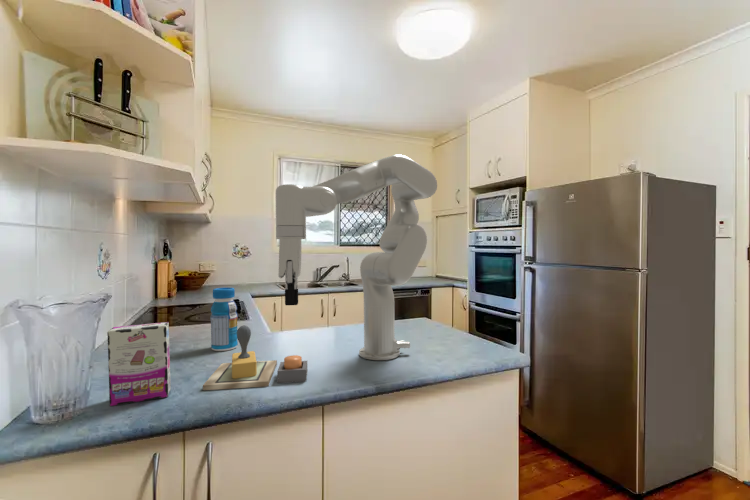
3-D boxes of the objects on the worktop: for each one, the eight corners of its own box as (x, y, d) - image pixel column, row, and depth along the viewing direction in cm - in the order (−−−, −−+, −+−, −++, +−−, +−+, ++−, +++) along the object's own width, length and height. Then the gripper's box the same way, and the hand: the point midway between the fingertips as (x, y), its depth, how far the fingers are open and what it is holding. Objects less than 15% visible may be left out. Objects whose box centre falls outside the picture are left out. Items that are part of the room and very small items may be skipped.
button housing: (307, 371, 96) (307, 360, 96) (306, 381, 89) (306, 369, 89) (280, 373, 95) (280, 362, 95) (277, 383, 88) (277, 371, 88)
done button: (302, 368, 95) (302, 354, 95) (301, 373, 90) (301, 360, 90) (285, 369, 94) (285, 355, 94) (283, 375, 90) (283, 361, 90)
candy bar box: (171, 389, 85) (169, 321, 85) (168, 397, 81) (167, 325, 80) (114, 398, 81) (113, 325, 80) (108, 407, 76) (106, 330, 76)
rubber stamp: (256, 375, 90) (256, 328, 90) (232, 379, 88) (231, 330, 88) (254, 363, 99) (254, 320, 99) (232, 366, 97) (231, 322, 97)
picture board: (276, 364, 102) (276, 359, 102) (268, 386, 86) (268, 380, 86) (221, 367, 100) (221, 362, 100) (202, 390, 84) (202, 384, 84)
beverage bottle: (212, 353, 114) (211, 290, 113) (209, 346, 121) (208, 288, 121) (240, 349, 118) (239, 288, 118) (236, 343, 125) (235, 286, 125)
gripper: (279, 234, 99) (280, 300, 99) (271, 232, 84) (272, 310, 84) (307, 234, 100) (307, 300, 100) (304, 232, 85) (305, 309, 85)
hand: (291, 304), depth 92 cm, fingers closed
